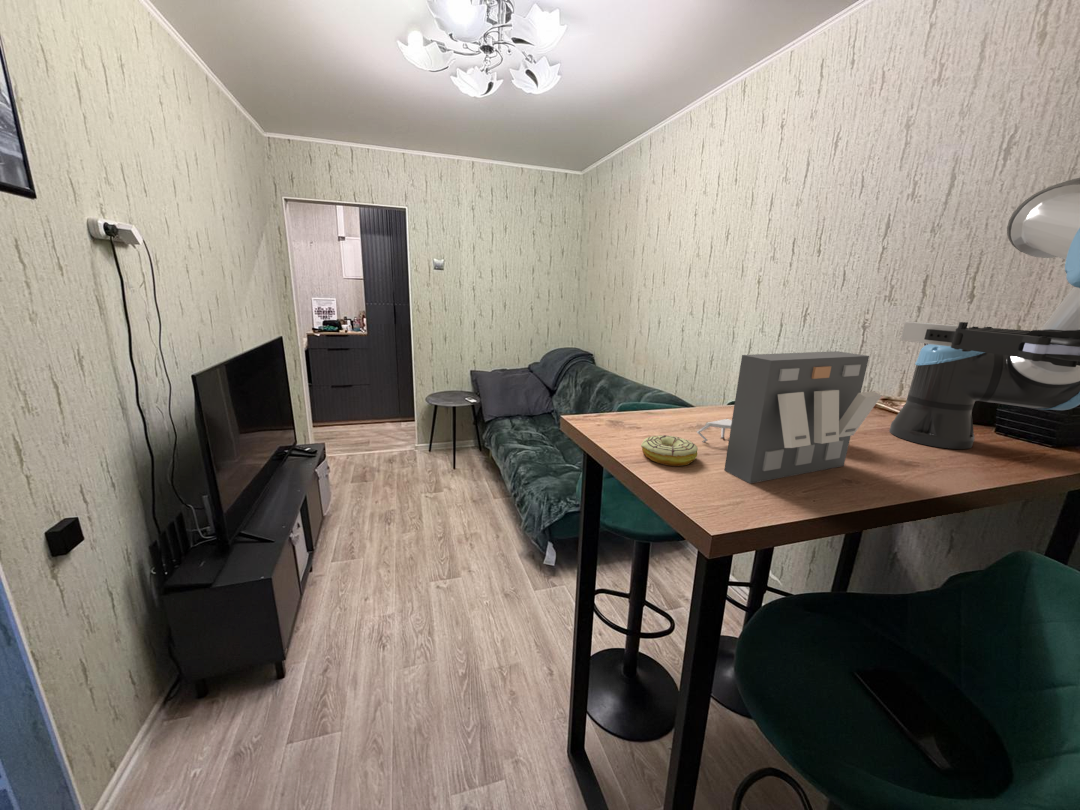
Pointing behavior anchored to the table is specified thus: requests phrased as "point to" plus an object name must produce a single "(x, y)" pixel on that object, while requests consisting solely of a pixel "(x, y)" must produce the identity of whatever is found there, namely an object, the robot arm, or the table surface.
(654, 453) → the decorated donut
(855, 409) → the bar
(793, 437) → the rocker
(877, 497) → the table surface
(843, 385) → the power box
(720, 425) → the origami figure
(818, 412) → the middle rocker
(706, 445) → the table surface
